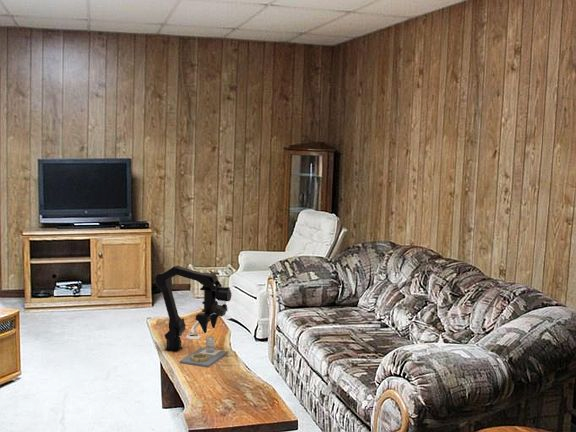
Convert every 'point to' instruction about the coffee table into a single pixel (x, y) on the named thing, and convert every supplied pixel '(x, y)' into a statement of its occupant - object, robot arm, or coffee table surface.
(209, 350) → the peg
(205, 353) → the mat
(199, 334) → the hook
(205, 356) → the brass octagonal ring
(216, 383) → the coffee table surface
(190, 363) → the board
